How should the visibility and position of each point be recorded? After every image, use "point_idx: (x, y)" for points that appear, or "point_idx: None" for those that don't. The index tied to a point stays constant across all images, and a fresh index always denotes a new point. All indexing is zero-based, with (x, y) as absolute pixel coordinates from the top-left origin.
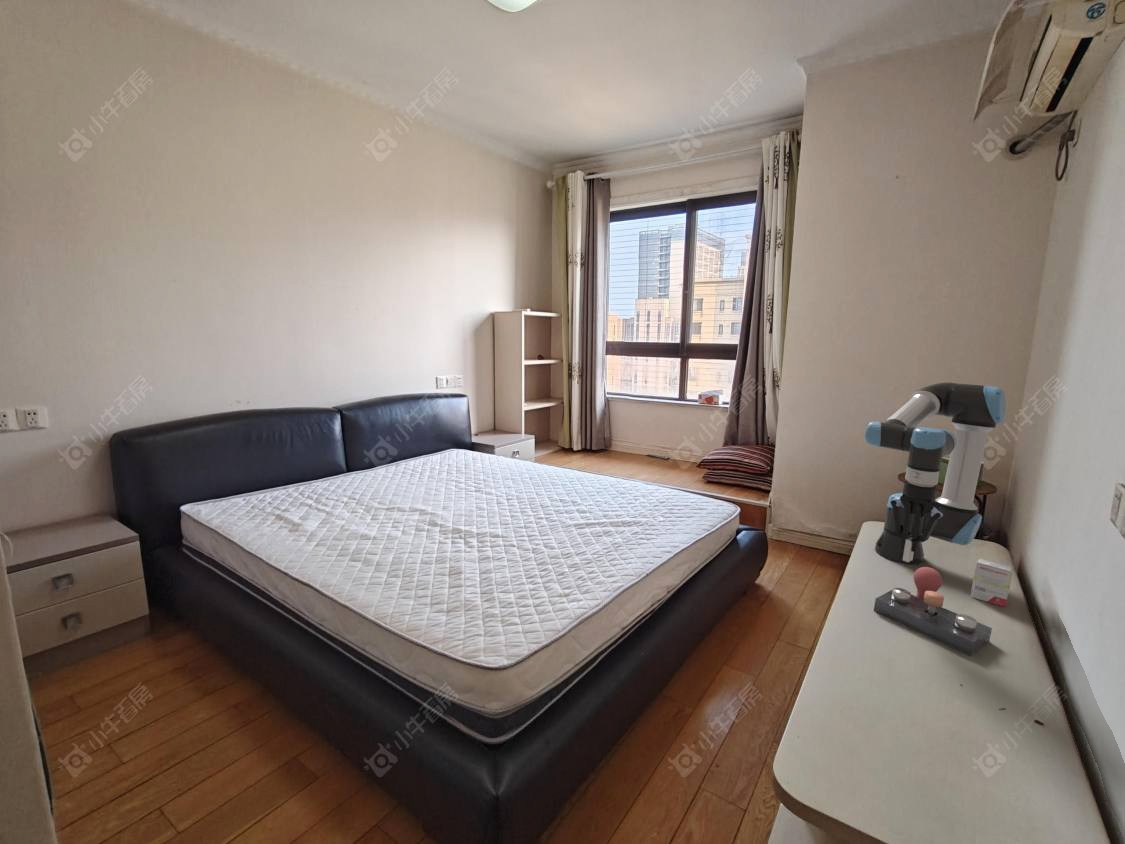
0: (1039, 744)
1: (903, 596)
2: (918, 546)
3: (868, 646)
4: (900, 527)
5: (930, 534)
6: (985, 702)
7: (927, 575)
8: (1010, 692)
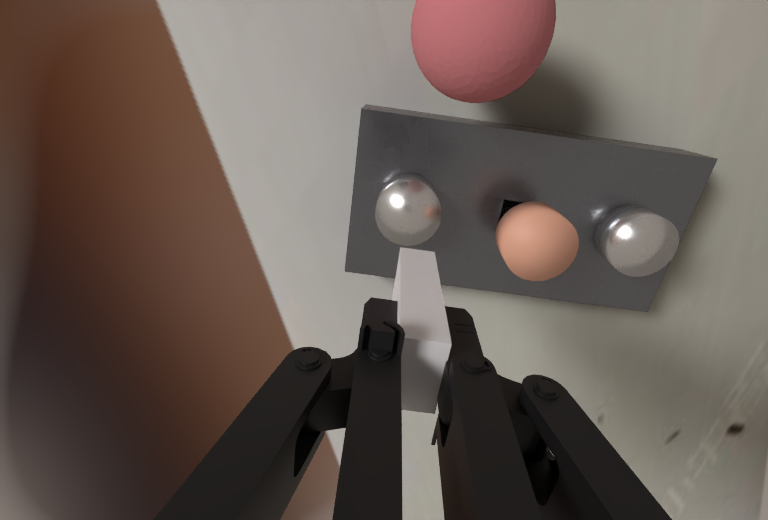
0: (721, 483)
1: (423, 240)
2: (476, 336)
3: (410, 426)
4: (303, 464)
5: (608, 447)
6: (644, 439)
7: (490, 86)
8: (699, 372)
